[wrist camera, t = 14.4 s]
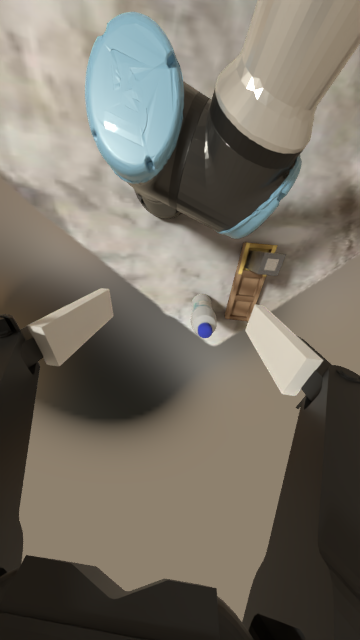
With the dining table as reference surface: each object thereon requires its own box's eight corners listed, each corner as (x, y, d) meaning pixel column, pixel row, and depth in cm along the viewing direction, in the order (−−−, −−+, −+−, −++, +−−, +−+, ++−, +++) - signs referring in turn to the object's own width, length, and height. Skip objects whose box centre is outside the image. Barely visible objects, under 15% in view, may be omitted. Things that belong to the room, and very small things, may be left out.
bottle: (214, 297, 48) (226, 328, 31) (204, 312, 51) (209, 349, 34) (197, 287, 47) (199, 315, 30) (187, 304, 50) (184, 338, 33)
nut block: (249, 250, 40) (264, 252, 31) (265, 251, 40) (286, 254, 31) (244, 267, 42) (257, 274, 33) (259, 268, 42) (277, 276, 33)
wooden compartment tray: (243, 242, 40) (246, 242, 38) (272, 245, 40) (277, 245, 37) (224, 315, 51) (225, 318, 49) (247, 317, 51) (249, 321, 48)
